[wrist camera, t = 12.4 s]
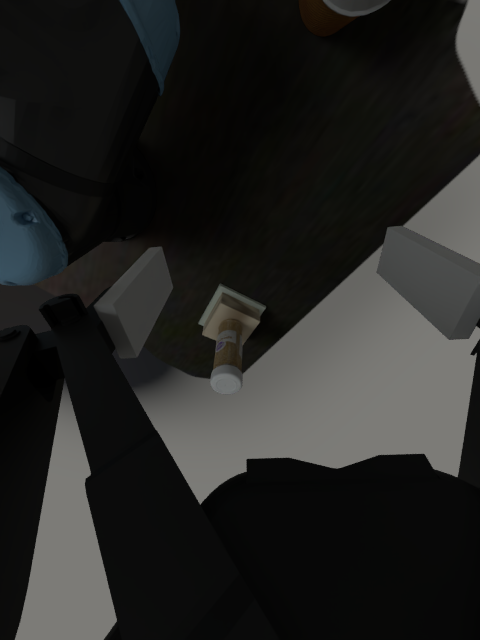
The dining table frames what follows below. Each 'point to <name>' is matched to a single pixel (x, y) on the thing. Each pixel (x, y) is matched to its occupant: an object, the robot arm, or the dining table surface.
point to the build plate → (234, 294)
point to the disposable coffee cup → (334, 13)
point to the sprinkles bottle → (228, 358)
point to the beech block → (231, 316)
